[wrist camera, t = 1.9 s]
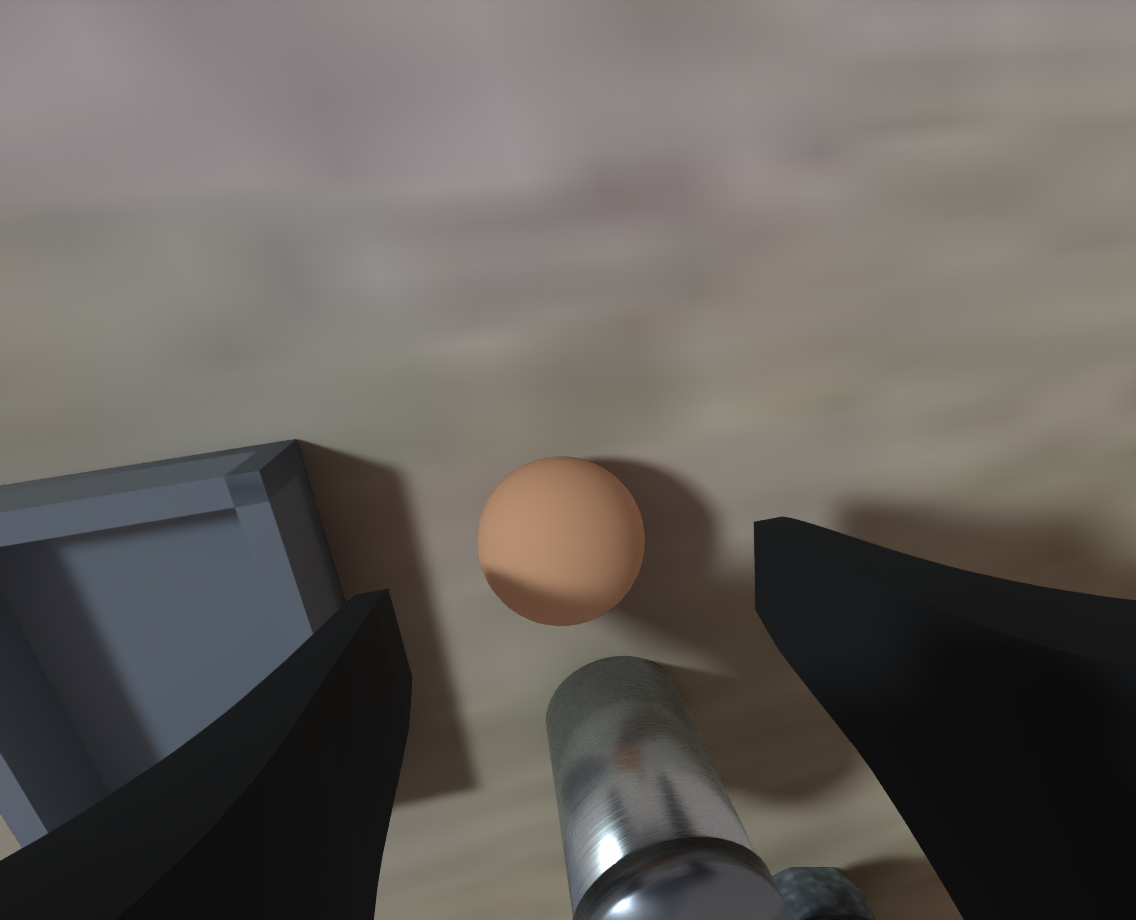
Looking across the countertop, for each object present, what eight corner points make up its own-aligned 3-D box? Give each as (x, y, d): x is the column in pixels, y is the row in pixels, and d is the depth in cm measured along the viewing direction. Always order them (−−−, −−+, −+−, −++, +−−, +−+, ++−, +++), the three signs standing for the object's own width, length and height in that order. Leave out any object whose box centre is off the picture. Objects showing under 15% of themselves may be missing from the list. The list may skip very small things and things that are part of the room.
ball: (629, 558, 16) (673, 643, 12) (491, 583, 16) (494, 679, 12) (615, 425, 15) (660, 476, 11) (465, 450, 14) (459, 511, 11)
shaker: (687, 753, 19) (791, 998, 12) (553, 783, 18) (590, 1052, 12) (678, 640, 17) (793, 852, 11) (532, 670, 17) (562, 909, 10)
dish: (396, 774, 17) (383, 849, 15) (124, 833, 17) (68, 922, 14) (295, 439, 14) (258, 470, 11) (-57, 494, 13) (-171, 540, 11)
